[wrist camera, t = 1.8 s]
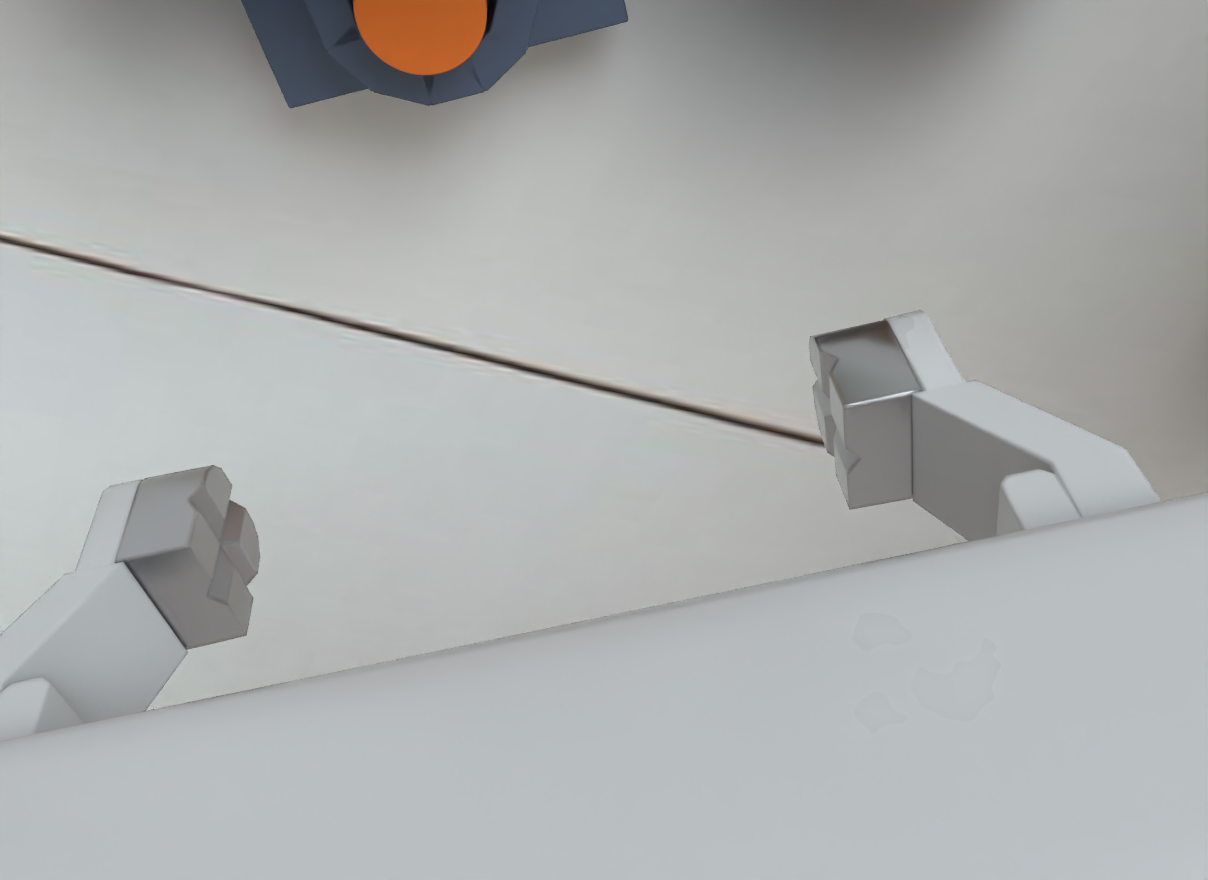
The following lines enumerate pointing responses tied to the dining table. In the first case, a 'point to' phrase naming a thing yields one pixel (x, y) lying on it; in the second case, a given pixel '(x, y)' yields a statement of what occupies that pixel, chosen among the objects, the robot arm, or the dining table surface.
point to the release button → (422, 32)
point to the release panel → (346, 64)
